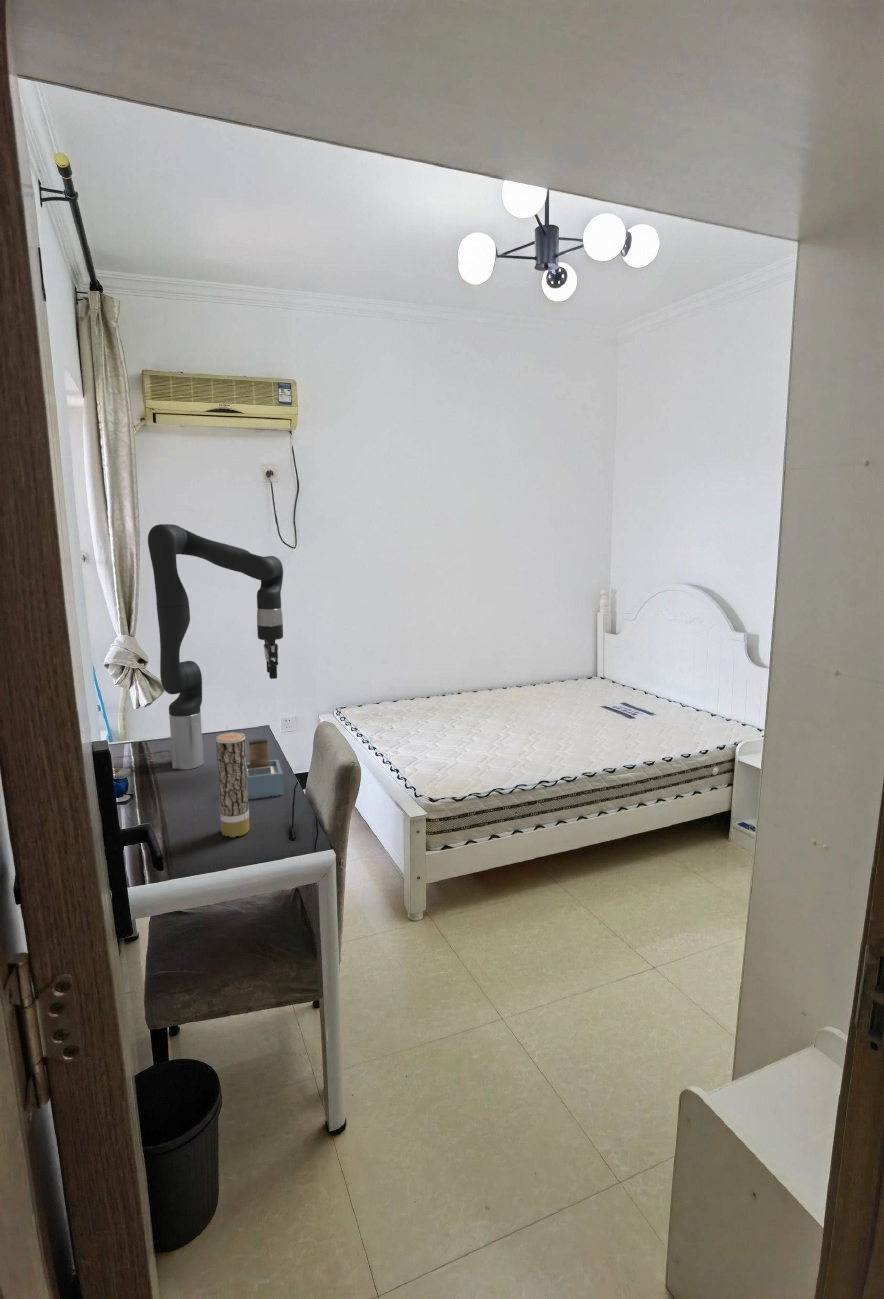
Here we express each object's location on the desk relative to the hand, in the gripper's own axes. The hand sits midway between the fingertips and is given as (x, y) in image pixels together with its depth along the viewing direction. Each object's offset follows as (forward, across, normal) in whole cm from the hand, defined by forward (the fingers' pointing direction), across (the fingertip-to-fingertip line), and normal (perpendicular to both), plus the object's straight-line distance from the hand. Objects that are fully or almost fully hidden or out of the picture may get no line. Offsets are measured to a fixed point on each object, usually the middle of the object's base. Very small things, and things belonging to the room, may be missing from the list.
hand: (272, 675), depth 209 cm
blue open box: (+30, +16, -6) cm, 35 cm away
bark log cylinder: (+30, +42, -14) cm, 54 cm away
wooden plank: (+25, +16, -6) cm, 30 cm away
